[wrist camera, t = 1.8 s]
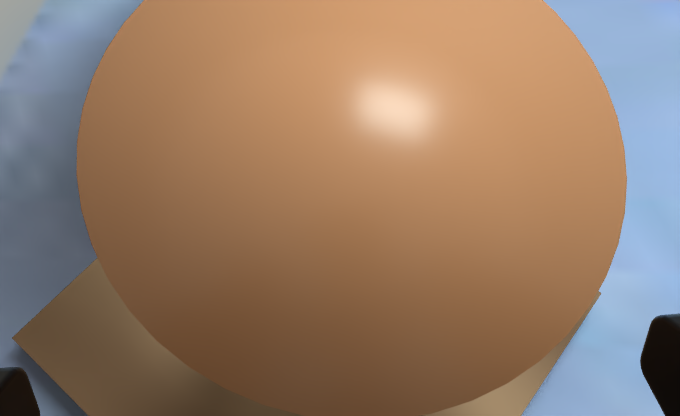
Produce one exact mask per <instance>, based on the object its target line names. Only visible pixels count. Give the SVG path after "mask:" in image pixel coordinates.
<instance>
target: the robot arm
mask: <svg viewBox="0 0 680 416" xmlns="http://www.w3.org/2000/svg"><path fill="white" fill-rule="evenodd" d="M640 363H641V369H642V372H643V375H644V377H645V379H646V381H647V383H648V384H649V386H650V388H651V390H652V392H653V394H654V396H655V398H656V399H657V401H658V403H659V405H660V407H661V409H662V411H663V413H664V414H665V416H680V314H669V315H660V316H657V317H655V318H654V320H653V321H652V322H651V325H650V328H649V331H648V334H647V338H646V341H645V344H644V348H643V351H642V354H641V360H640ZM0 416H40V410H39V407H38V404H37V401H36V399H35V396H34V393H33V390H32V387H31V385H30V382H29V379H28V376H27V374H26V372H25V371H24V370H23V369H22V368H19V367H8V368H0Z"/></svg>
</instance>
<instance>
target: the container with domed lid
mask: <svg viewBox="0 0 680 416" xmlns="http://www.w3.org/2000/svg"><path fill="white" fill-rule="evenodd" d="M77 182H78V189H79V196H80V203H81V210H82V214H83V217H84V220H85V224H86V227H87V230H88V234H89V237H90V241H91V244H92V246H93V248H94V251H95V253H96V255H97V257H98V259H99V261H100V263H101V265H102V268H103V270H104V272H105V274H106V276H107V278H108V280H109V281H110V283H111V284H112V286H113V287H114V289H115V290H116V292H117V293H118V295H119V296H120V298H121V299H122V301H123V302H124V304H125V305H126V307H127V308H128V310H129V311H130V312H131V313H132V314H133V315H134V317H135V318H136V319H137V320H138V321H139V322H140V323H141V324H142V325H143V326H144V328H145V329H146V330H147V331H148V332H149V333H150V334H151V335H152V336H153V337H154V339H155V340H156V341H157V342H159V343H160V344H161V345H162V346H164V347H165V348H166V349H167V350H169V351H170V352H171V353H172V354H173V355H175V356H176V357H177V358H178V359H180V360H181V361H182V362H183V363H184V364H186V365H187V366H188V367H190V368H191V369H193V370H195V371H196V372H198V373H200V374H201V375H203V376H205V377H206V378H208V379H210V380H211V381H213V382H215V383H216V384H218V385H220V386H221V387H223V388H224V389H227V390H229V391H232V392H234V393H236V394H239V395H241V396H243V397H246V398H248V399H251V400H253V401H255V402H258V403H260V404H262V405H265V406H269V407H273V408H276V409H280V410H284V411H288V412H292V413H295V414H299V415H303V416H420V415H426V414H432V413H436V412H439V411H442V410H445V409H448V408H451V407H454V406H458V405H461V404H464V403H467V402H470V401H473V400H475V399H477V398H479V397H481V396H483V395H485V394H487V393H489V392H491V391H493V390H495V389H497V388H499V387H501V386H503V385H505V384H507V383H509V382H510V381H512V380H513V379H515V378H516V377H518V376H519V375H521V374H522V373H523V372H525V371H526V370H528V369H529V368H531V367H532V366H533V365H535V364H536V363H538V362H539V361H540V360H542V359H543V358H544V357H545V356H546V355H547V354H548V353H549V352H550V351H551V350H552V349H553V348H554V347H555V346H556V345H557V344H558V343H560V342H561V341H562V340H563V339H564V338H565V337H566V336H567V335H568V333H569V332H570V331H571V330H572V328H573V327H574V326H575V325H576V323H577V322H578V321H579V319H580V318H581V317H582V316H583V314H584V313H585V312H586V310H587V309H588V308H589V306H590V305H591V303H592V301H593V299H594V297H595V296H596V294H597V292H598V290H599V288H600V287H601V285H602V283H603V281H604V279H605V278H606V276H607V273H608V270H609V268H610V265H611V262H612V259H613V257H614V254H615V251H616V249H617V246H618V243H619V238H620V233H621V228H622V223H623V219H624V214H625V202H626V185H627V176H626V164H625V152H624V145H623V140H622V136H621V131H620V127H619V122H618V118H617V115H616V112H615V109H614V107H613V104H612V101H611V98H610V96H609V93H608V90H607V88H606V86H605V84H604V82H603V80H602V78H601V76H600V74H599V72H598V70H597V68H596V66H595V64H594V62H593V61H592V59H591V58H590V56H589V55H588V53H587V52H586V50H585V49H584V47H583V46H582V44H581V43H580V41H579V40H578V38H577V37H576V35H575V34H574V33H573V32H572V31H571V30H570V28H569V27H568V26H567V25H566V24H565V23H564V22H563V20H562V19H561V18H560V17H559V16H558V15H557V13H556V12H555V11H554V10H553V9H552V8H550V7H549V6H548V5H547V4H546V3H545V2H544V1H543V0H144V1H143V2H142V3H141V4H140V5H139V7H138V8H137V9H136V10H135V11H134V12H133V13H132V14H131V16H130V17H129V18H128V19H127V20H126V21H125V22H124V24H123V25H122V27H121V28H120V30H119V31H118V33H117V34H116V36H115V37H114V39H113V40H112V42H111V43H110V45H109V46H108V48H107V49H106V51H105V53H104V55H103V57H102V59H101V61H100V63H99V65H98V67H97V70H96V72H95V74H94V76H93V78H92V81H91V84H90V87H89V90H88V93H87V96H86V99H85V103H84V106H83V109H82V115H81V121H80V127H79V133H78V139H77Z"/></svg>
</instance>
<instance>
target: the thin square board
mask: <svg viewBox="0 0 680 416" xmlns="http://www.w3.org/2000/svg"><path fill="white" fill-rule="evenodd" d="M600 295H601V293H600V292H599V291H598V292H597V294H596V296H595V297H594V299H593V301H592V303H591V305H590V306H589V308H588V309H587V310H586V312H585V313H584V314H583V316H582V317H581V318H580V319H579V321H578V322H577V323H576V325H575V326H574V327H573V328H572V330H571V331H570V332H569V333H568V335H567V336H566V337H565V338H564V339H563V340H562V341H561V342H560V343H558V344H557V345H556V346H555V347H554V348H553V349H552V350H551V351H550V352H549V353H548V354H547V355H546V356H545V357H544V358H543V359H542V360H540V361H539V362H538V363H536V364H535V365H533V366H532V367H531V368H529V369H528V370H526V371H525V372H523V373H522V374H521V375H519V376H518V377H516V378H515V379H513V380H512V381H510V382H509V383H507V384H505V385H503V386H501V387H499V388H497V389H495V390H493V391H491V392H489V393H487V394H485V395H483V396H481V397H479V398H477V399H475V400H473V401H470V402H467V403H464V404H461V405H458V406H454V407H451V408H448V409H445V410H442V411H439V412H436V413H432V414H426V415H420V416H521V415H522V413H523V411H524V410H525V408H526V407H527V405H528V404H529V402H530V401H531V399H532V398H533V396H534V395H535V393H536V392H537V390H538V389H539V387H540V386H541V384H542V383H543V381H544V380H545V378H546V377H547V375H548V374H549V372H550V371H551V369H552V367H553V366H554V364H555V363H556V361H557V360H558V358H559V357H560V355H561V354H562V352H563V351H564V349H565V348H566V346H567V345H568V343H569V342H570V340H571V339H572V337H573V336H574V334H575V333H576V331H577V330H578V328H579V327H580V325H581V323H582V322H583V320H584V319H585V317H586V316H587V314H588V313H589V311H590V310H591V308H592V307H593V305H594V304H595V302H596V301H597V299H598V298H599V296H600ZM12 339H13V340H14V341H15V342H16V343H17V344H18V345H19V346H20V347H21V348H22V349H23V350H24V351H25V352H26V353H27V354H28V355H29V356H30V357H31V358H32V359H33V360H34V361H35V362H36V363H37V364H38V365H39V366H40V367H41V368H42V369H43V370H44V371H45V372H46V373H47V374H48V375H49V376H50V377H51V378H52V379H53V380H54V381H55V382H56V383H57V384H58V385H59V386H60V387H61V388H62V389H63V390H64V391H65V392H66V393H67V394H68V395H69V396H70V397H71V398H72V399H73V400H74V402H75V403H76V404H77V405H78V406H79V407H80V408H81V409H82V410H83V411H84V412H85V413H86V414H87V415H88V416H303V415H299V414H295V413H292V412H288V411H284V410H280V409H276V408H273V407H269V406H265V405H262V404H260V403H258V402H255V401H253V400H251V399H248V398H246V397H243V396H241V395H239V394H236V393H234V392H232V391H229V390H227V389H224V388H223V387H221V386H220V385H218V384H216V383H215V382H213V381H211V380H210V379H208V378H206V377H205V376H203V375H201V374H200V373H198V372H196V371H195V370H193V369H191V368H190V367H188V366H187V365H186V364H184V363H183V362H182V361H181V360H180V359H178V358H177V357H176V356H175V355H173V354H172V353H171V352H170V351H169V350H167V349H166V348H165V347H164V346H162V345H161V344H160V343H159V342H157V341H156V340H155V339H154V337H153V336H152V335H151V334H150V333H149V332H148V331H147V330H146V329H145V328H144V326H143V325H142V324H141V323H140V322H139V321H138V320H137V319H136V318H135V317H134V315H133V314H132V313H131V312H130V311H129V310H128V308H127V307H126V305H125V304H124V302H123V301H122V299H121V298H120V296H119V295H118V293H117V292H116V290H115V289H114V287H113V286H112V284H111V283H110V281H109V280H108V278H107V276H106V274H105V272H104V270H103V268H102V265H101V263H100V261H99V259H98V258H97V259H96V260H95V261H93V262H92V263H91V264H90V265H89V266H88V267H87V268H86V269H85V270H84V271H83V272H82V273H81V274H80V275H79V276H77V277H76V278H75V279H74V280H73V281H72V282H71V283H70V284H69V285H68V286H67V287H66V288H65V289H64V290H63V291H61V292H60V293H59V294H58V295H57V296H56V297H55V298H54V299H53V300H52V301H51V302H50V303H49V304H48V305H47V306H46V307H44V308H43V309H42V310H41V311H40V312H39V313H38V314H37V315H36V316H35V317H34V318H33V319H32V320H31V321H30V322H28V323H27V324H26V325H25V326H24V327H23V328H22V329H21V330H20V331H19V332H18V333H17V334H16V335H15V336H14V337H12Z"/></svg>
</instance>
